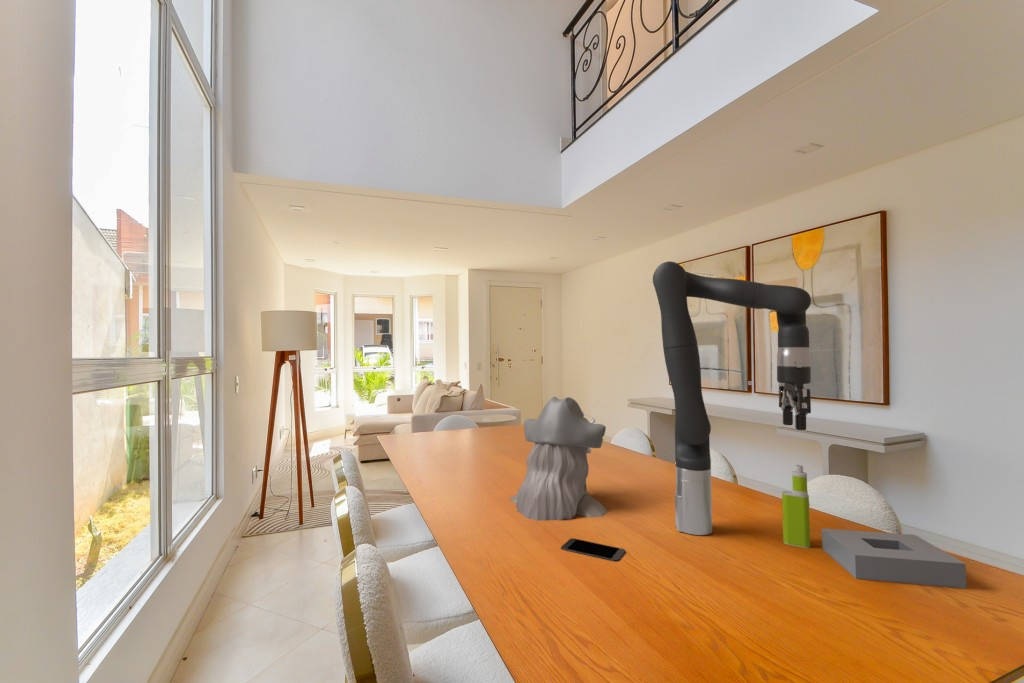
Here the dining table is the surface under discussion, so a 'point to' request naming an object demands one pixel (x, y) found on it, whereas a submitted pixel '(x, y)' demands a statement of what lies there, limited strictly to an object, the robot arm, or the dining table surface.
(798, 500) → the vape
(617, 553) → the smartphone
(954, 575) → the charging dock
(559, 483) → the bust
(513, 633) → the dining table surface
